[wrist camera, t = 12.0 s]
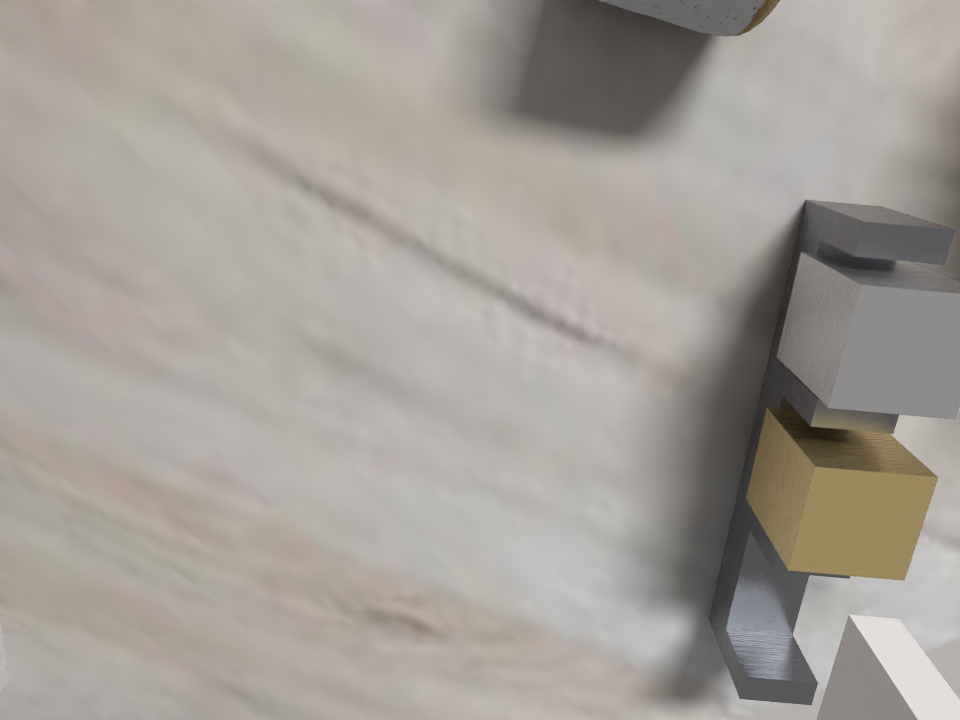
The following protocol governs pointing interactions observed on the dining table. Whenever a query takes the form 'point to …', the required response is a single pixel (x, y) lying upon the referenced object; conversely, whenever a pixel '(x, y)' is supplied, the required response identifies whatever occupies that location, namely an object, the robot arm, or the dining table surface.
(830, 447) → the unfinished wooden cube
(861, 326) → the plain grey cube
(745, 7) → the ceramic mug
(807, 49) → the dining table surface
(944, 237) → the rack rail
